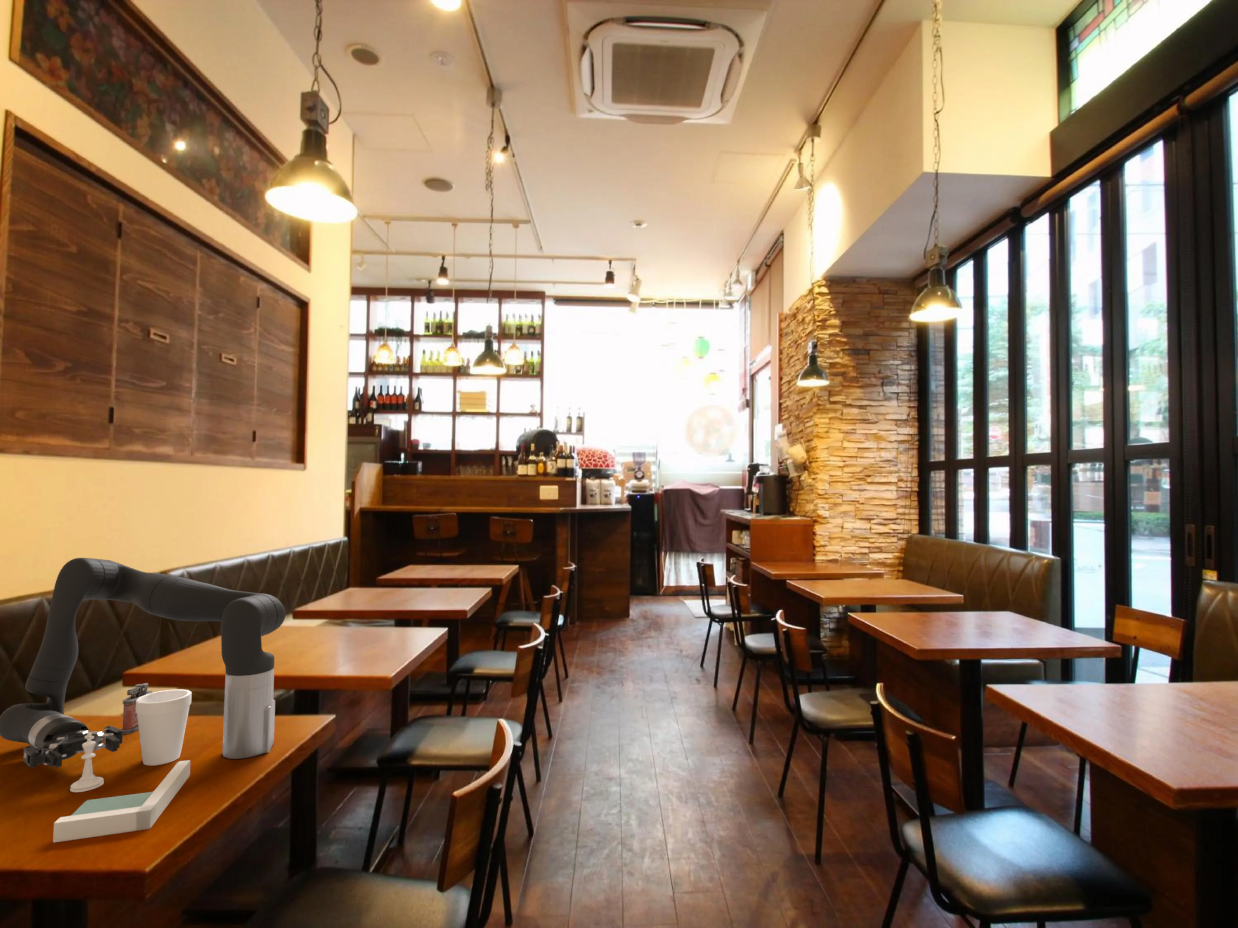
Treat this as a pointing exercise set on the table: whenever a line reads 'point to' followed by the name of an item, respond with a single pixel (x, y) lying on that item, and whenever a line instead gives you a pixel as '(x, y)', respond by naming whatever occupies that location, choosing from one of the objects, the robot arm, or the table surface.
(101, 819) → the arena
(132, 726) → the lighter
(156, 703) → the foam cup
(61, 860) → the table surface
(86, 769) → the chess piece
